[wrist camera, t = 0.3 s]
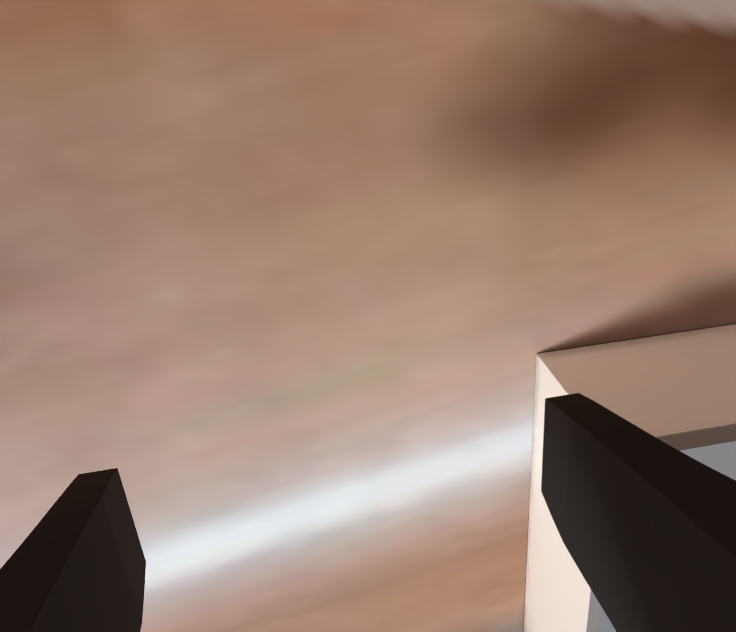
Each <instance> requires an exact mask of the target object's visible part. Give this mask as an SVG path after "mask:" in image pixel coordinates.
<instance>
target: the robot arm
mask: <svg viewBox="0 0 736 632" xmlns="http://www.w3.org/2000/svg"><path fill="white" fill-rule="evenodd" d="M541 492H542V495H543V497H544V499H545V502H546V504H547V507H548V509H549V511H550V514H551V516H552V519H553V521H554V523H555V525H556V527H557V530H558V532H559V534H560V536H561V539H562V541H563V543H564V545H565V546H566V548H567V550H568V551H569V553H570V555H571V557H572V558H573V560H574V562H575V563H576V565H577V567H578V568H579V570H580V572H581V574H582V575H583V577H584V579H585V580H586V582H587V584H588V585H589V587H590V589H591V590H592V592H593V594H594V595H595V597H596V599H597V600H598V602H599V604H600V605H601V607H602V609H603V610H604V612H605V614H606V615H607V617H608V618H609V620H610V622H611V623H612V625H613V627H614V628H615V630H616V632H736V480H734V479H732V478H730V477H728V476H726V475H724V474H722V473H720V472H718V471H716V470H714V469H712V468H710V467H708V466H706V465H704V464H703V463H701V462H699V461H697V460H695V459H693V458H691V457H690V456H688V455H686V454H684V453H682V452H681V451H679V450H677V449H675V448H673V447H672V446H670V445H668V444H666V443H665V442H663V441H661V440H659V439H658V438H656V437H654V436H653V435H651V434H649V433H647V432H646V431H644V430H642V429H641V428H639V427H637V426H636V425H634V424H632V423H631V422H629V421H627V420H625V419H624V418H622V417H620V416H619V415H617V414H615V413H614V412H612V411H610V410H609V409H607V408H605V407H604V406H602V405H600V404H598V403H597V402H595V401H593V400H591V399H590V398H588V397H586V396H584V395H582V394H580V393H575V394H569V395H563V396H556V397H550V398H545V412H544V435H543V457H542V480H541ZM145 566H146V561H145V558H144V554H143V551H142V548H141V544H140V541H139V538H138V535H137V531H136V528H135V525H134V521H133V518H132V515H131V511H130V508H129V505H128V502H127V498H126V495H125V492H124V488H123V485H122V482H121V479H120V475H119V472H118V469H117V468H115V469H109V470H103V471H97V472H91V473H85V474H79V475H78V476H77V477H76V478H75V479H74V480H73V482H72V483H71V484H70V485H69V486H68V488H67V489H66V490H65V491H64V493H63V494H62V495H61V496H60V497H59V499H58V500H57V501H56V502H55V504H54V505H53V506H52V507H51V508H50V510H49V511H48V512H47V513H46V515H45V516H44V517H43V518H42V520H41V521H40V522H39V523H38V525H37V526H36V527H35V528H34V530H33V531H32V532H31V533H30V534H29V536H28V537H27V538H26V539H25V541H24V542H23V543H22V544H21V545H20V546H19V548H18V549H17V550H16V551H15V552H14V554H13V555H12V556H11V557H10V558H9V560H8V561H7V562H6V563H5V564H4V565H3V567H2V568H1V569H0V632H140V630H141V624H142V614H143V601H144V585H145Z"/></svg>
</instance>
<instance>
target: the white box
mask: <svg viewBox="0 0 736 632" xmlns="http://www.w3.org/2000/svg"><path fill="white" fill-rule="evenodd" d="M575 393H580V394H582V395H584V396H586V397H588V398H590V399H591V400H593V401H595V402H597V403H598V404H600V405H602V406H604V407H605V408H607V409H609V410H610V411H612V412H614V413H615V414H617V415H619V416H620V417H622V418H624V419H625V420H627V421H629V422H631V423H632V424H634V425H636V426H637V427H639V428H641V429H642V430H644V431H646V432H647V433H649V434H651V435H653V436H654V437H656V438H663V437H669V436H675V435H681V434H686V433H692V432H698V431H704V430H710V429H716V428H722V427H728V426H734V425H736V324H732V325H726V326H719V327H712V328H706V329H699V330H692V331H686V332H679V333H672V334H666V335H659V336H652V337H646V338H639V339H632V340H626V341H619V342H612V343H606V344H599V345H592V346H586V347H579V348H572V349H566V350H559V351H552V352H546V353H539V354H537V358H536V379H535V401H534V422H533V444H532V465H531V487H530V508H529V529H528V551H527V572H526V594H525V615H524V632H586V629H587V620H588V611H589V601H590V592H591V589H590V587H589V585H588V584H587V582H586V580H585V579H584V577H583V575H582V574H581V572H580V570H579V568H578V567H577V565H576V563H575V562H574V560H573V558H572V557H571V555H570V553H569V551H568V550H567V548H566V546H565V545H564V543H563V541H562V539H561V536H560V534H559V532H558V530H557V527H556V525H555V523H554V521H553V519H552V516H551V514H550V511H549V509H548V507H547V504H546V502H545V499H544V497H543V495H542V492H541V480H542V457H543V435H544V412H545V398H550V397H556V396H563V395H569V394H575Z"/></svg>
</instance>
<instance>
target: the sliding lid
mask: <svg viewBox="0 0 736 632" xmlns="http://www.w3.org/2000/svg"><path fill="white" fill-rule="evenodd" d="M658 439H659V440H661V441H663V442H665V443H666V444H668V445H670V446H672V447H673V448H675V449H677V450H679V451H681V452H682V453H684V454H686V455H688V456H690V457H691V458H693V459H695V460H697V461H699V462H701V463H703V464H704V465H706V466H708V467H710V468H712V469H714V470H716V471H718V472H720V473H722V474H724V475H726V476H728V477H730V478H732V479H734V480H736V425H734V426H728V427H722V428H716V429H710V430H704V431H698V432H692V433H686V434H681V435H675V436H669V437H663V438H658ZM586 632H616V630H615V628H614V627H613V625H612V623H611V622H610V620H609V618H608V617H607V615H606V614H605V612H604V610H603V609H602V607H601V605H600V604H599V602H598V600H597V599H596V597H595V595H594V594H593V592H592V590H591V592H590V601H589V611H588V620H587V629H586Z"/></svg>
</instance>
